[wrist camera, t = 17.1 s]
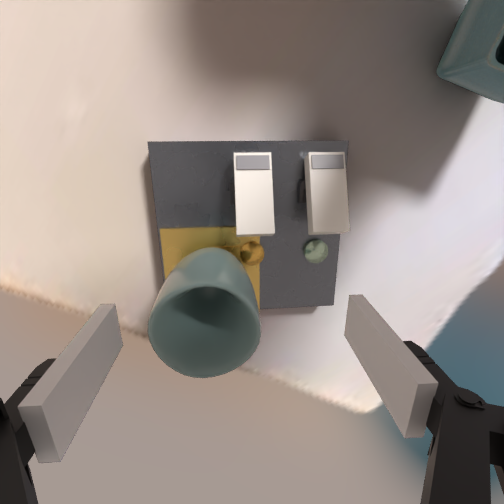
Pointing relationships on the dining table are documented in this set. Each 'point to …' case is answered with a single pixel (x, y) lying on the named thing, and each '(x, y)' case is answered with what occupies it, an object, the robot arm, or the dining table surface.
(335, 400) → the dining table surface
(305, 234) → the panel
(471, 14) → the flower pot
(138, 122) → the dining table surface
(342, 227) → the rocker
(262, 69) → the dining table surface
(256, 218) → the rocker
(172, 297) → the cup
